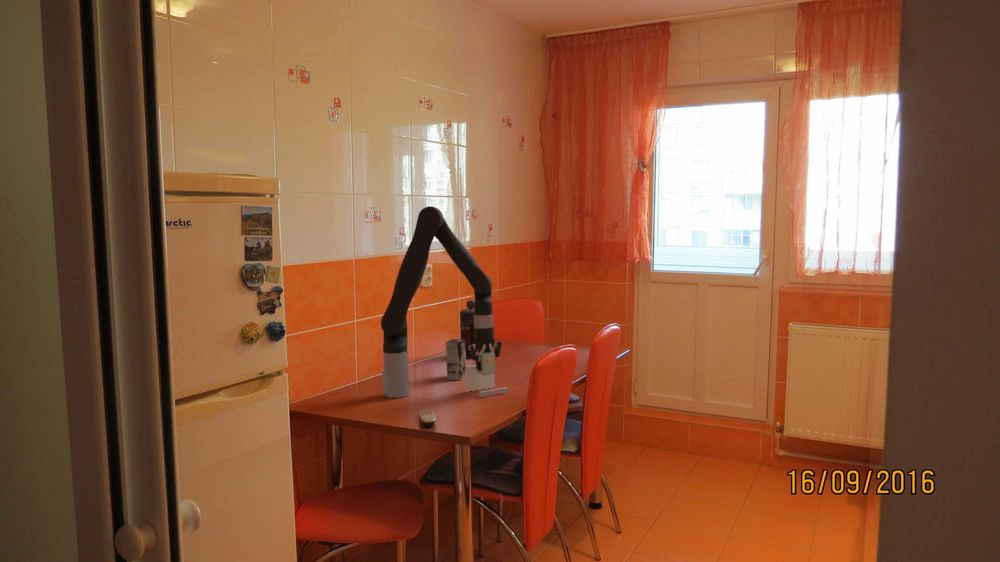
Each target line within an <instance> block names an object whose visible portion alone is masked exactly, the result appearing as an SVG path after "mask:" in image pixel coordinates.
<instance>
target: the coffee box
mask: <svg viewBox="0 0 1000 562" xmlns="http://www.w3.org/2000/svg"><path fill="white" fill-rule="evenodd" d="M445 347H446V349H445V350H446V351H445V353H446V375H447V376H446V379H447V381H462V380H463V379H464V378H466V366H467V359H466V351H465V339H461V338H456V339H455V338H452V339H450V340H448V341H446V342H445Z"/></svg>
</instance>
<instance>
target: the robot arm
mask: <svg viewBox="0 0 1000 562" xmlns="http://www.w3.org/2000/svg"><path fill="white" fill-rule="evenodd" d="M434 238H436V240H438V242H439V243H440V244H441V246H442V248H444V250H445V251H446V253H447V255H448V256H449V258H450V259H451V261H452V262H453V263H454V265H455V266H456V267H457V268H458V270H459V271H460V272H461V273H462V274H463V275H464V277H465V278H466V280H467V281H468V282H469V284H470V286H471V287H472V289H473V294H474V295H473V296H474V301H475V302H474V331H475V343H474V344H473V345H468V349H469V353H470V357H471V359H470V360H473V361H475V365H476V369H477V370H478V371H481V355H482V354H483V353H485V352H490V353H495V359H496V358H499V357H500V354H501V350H502V349H501V348H502V342H501V341H498V340H495V323H494V321H495V320H494V313H493V310H494V309H493V302H492V301H493V300H492V295H493V294H492V291H493V289H492V284H493V283H492V278H491V277H490V276H489V275H488V274H486V273H485V272H484V271H483V270H482V268H481V267H480V265H479V263H478V262H477V260H476V259H475V258H474V257H473V255H472V254H471V253H470V251H469V250H468V248H466V247H465V245H464V244H463V243H462V242H461V241H460V240H459V239H458V237H457V236H456V234H454V232H453V231H452V229H451V228H450V226H449V224H448V223H447V221H446V219H445V217H444V214H443V213H442V211H441V210H440V209H439V208H438V207H435V206H425V207H423V208H422V209H421V210H420V211H419V213H418V215H417V219H416V225H415V228H414V233H413V236H412V239H411V242H410V244H409V245H408V247H407V249H406V252H405V254H404V257H403V260H402V262H401V264H400V267H399V270H398V273H397V276H396V280H395V283H394V286H393V291H392V295H391V299H390V301H389V303H388V305H387V308H386V309H385V311H384V313H383V316H382V317H381V319H380V326H381V327H380V328H381V330H382V331H383V343H382V353H383V371H382V372H381V375H382V390H383V391H382V393H383V396H384V397H386V398H388V399H394V398H395V399H396V398H397V399H398V398H404V397H407V396H409V395H410V382H409V381H410V380H409V361H408V360H409V359H408V358H409V357H408V356H409V355H408V341H409V339H408V338H409V337H408V320H407V314H408V311H409V308H410V305H411V302H412V300H413V298H414V296H415V295H416V293H417V291H418V290H419V289H418V288H419V286H420V285H421V283H422V281H423V280H422V279H423V278H424V275H425V273H426V272H425V271H426V268H427V265H428V260H429V254H430V250H431V246H432V243H433V241H434ZM475 347H476V348H477V352H476V354H475ZM493 347H494V348H493Z"/></svg>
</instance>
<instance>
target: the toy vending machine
mask: <svg viewBox="0 0 1000 562" xmlns="http://www.w3.org/2000/svg"><path fill="white" fill-rule="evenodd" d="M474 302H475V299H469V300H468V301H467V302H466V305H465V306H466V307H467V308H464V309H461V310H460V311H459V326H460V327H459V328H460V330H459V331H460V339H465V351H466V358H471V357H470V353H469V349H468V345H473V344H474V343H475V331H474ZM476 352H477V348H476V347H475V354H476Z"/></svg>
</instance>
